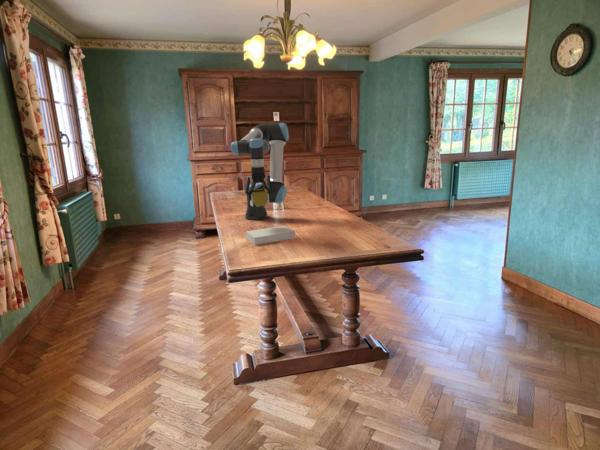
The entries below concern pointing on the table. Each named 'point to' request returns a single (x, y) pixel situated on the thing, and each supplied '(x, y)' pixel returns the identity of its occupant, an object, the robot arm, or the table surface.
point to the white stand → (270, 235)
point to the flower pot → (260, 197)
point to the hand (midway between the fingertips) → (259, 204)
